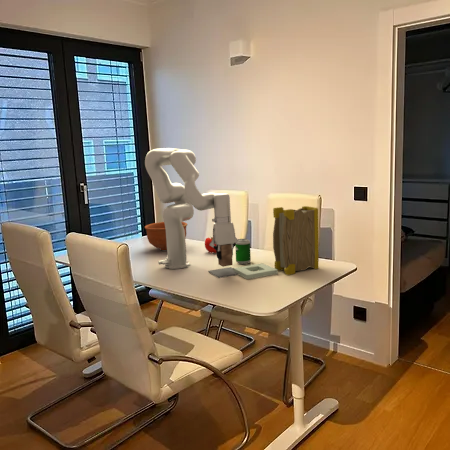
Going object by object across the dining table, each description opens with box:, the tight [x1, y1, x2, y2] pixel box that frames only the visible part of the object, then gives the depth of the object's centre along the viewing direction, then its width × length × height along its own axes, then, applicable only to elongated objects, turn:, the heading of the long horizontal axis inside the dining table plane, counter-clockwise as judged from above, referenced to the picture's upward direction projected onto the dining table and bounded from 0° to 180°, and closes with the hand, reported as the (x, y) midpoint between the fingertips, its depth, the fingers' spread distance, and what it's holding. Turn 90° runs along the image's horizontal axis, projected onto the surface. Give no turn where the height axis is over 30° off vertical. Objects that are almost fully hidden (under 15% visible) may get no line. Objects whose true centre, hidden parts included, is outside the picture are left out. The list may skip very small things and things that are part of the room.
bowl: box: [144, 221, 188, 251], centre depth 278 cm, size 25×25×15 cm
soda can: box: [234, 238, 252, 265], centre depth 241 cm, size 8×8×12 cm
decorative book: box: [272, 205, 319, 276], centre depth 222 cm, size 20×11×30 cm, turn 116°
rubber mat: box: [207, 266, 239, 279], centre depth 224 cm, size 12×12×1 cm
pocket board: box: [232, 262, 278, 280], centre depth 222 cm, size 16×14×2 cm
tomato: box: [204, 236, 217, 254], centre depth 266 cm, size 11×11×9 cm
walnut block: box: [217, 244, 233, 268], centre depth 222 cm, size 5×5×10 cm
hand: (225, 257), depth 223 cm, fingers closed on walnut block, 5 cm apart
